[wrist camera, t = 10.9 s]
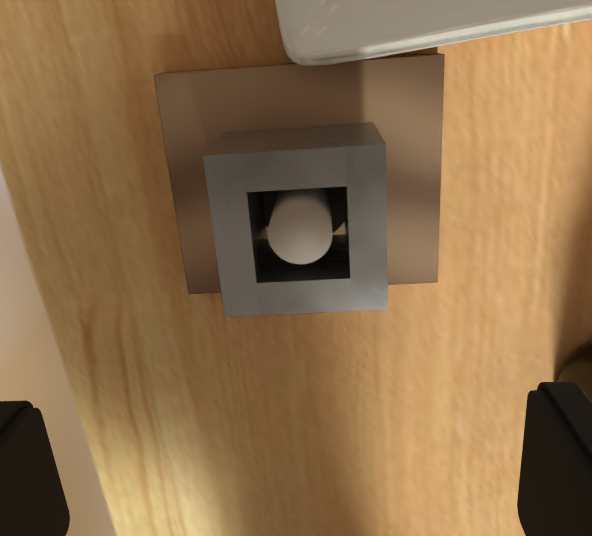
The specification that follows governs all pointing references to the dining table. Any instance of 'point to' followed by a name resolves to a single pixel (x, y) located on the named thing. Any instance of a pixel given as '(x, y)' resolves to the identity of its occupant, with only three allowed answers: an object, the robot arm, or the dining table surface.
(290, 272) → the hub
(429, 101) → the shaft block
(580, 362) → the supplement bottle
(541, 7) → the square plate
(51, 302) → the dining table surface
